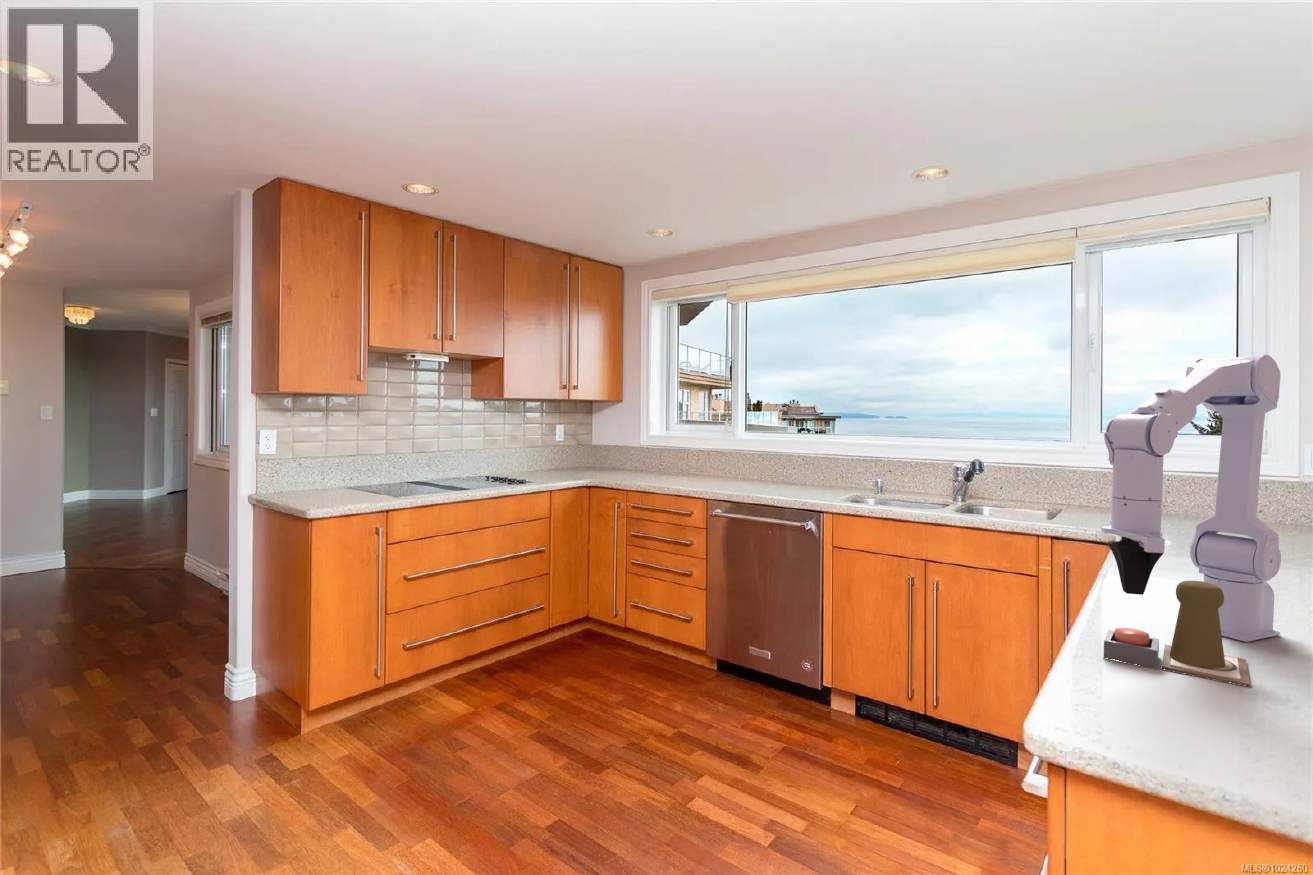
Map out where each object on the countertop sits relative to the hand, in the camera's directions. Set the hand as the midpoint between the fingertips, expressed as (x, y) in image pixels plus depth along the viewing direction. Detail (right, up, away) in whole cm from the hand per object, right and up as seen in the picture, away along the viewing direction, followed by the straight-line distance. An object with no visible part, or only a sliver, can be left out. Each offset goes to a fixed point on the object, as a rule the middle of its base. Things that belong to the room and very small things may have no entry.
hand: (1133, 593), depth 93 cm
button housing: (0, -9, 0) cm, 9 cm away
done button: (0, -7, 0) cm, 7 cm away
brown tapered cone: (+7, -9, -2) cm, 12 cm away
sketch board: (+8, -10, -2) cm, 13 cm away
